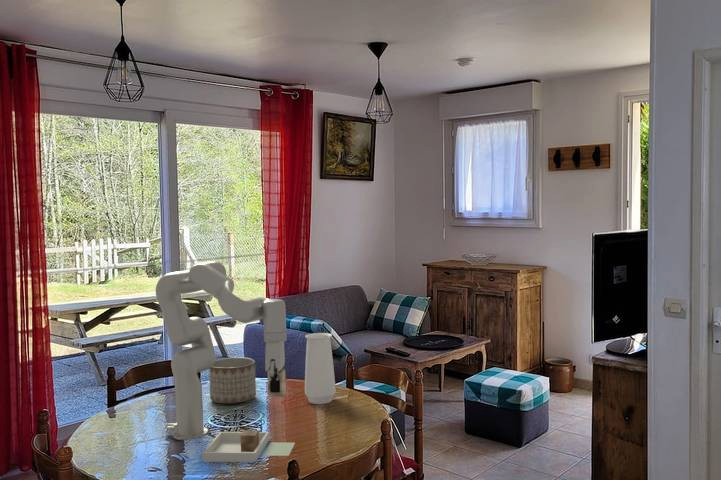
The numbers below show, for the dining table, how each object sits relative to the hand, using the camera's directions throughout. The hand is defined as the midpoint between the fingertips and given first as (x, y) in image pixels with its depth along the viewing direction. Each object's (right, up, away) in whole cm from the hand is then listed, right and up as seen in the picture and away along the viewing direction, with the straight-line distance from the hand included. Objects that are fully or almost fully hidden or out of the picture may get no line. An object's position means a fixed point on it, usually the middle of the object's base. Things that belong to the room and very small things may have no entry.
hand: (276, 389), depth 220 cm
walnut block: (-9, -21, 0) cm, 23 cm away
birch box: (0, -2, 0) cm, 2 cm away
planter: (-27, -19, +61) cm, 70 cm away
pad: (+1, -21, +1) cm, 21 cm away
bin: (-13, -21, +1) cm, 25 cm away
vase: (+11, -18, +57) cm, 61 cm away
